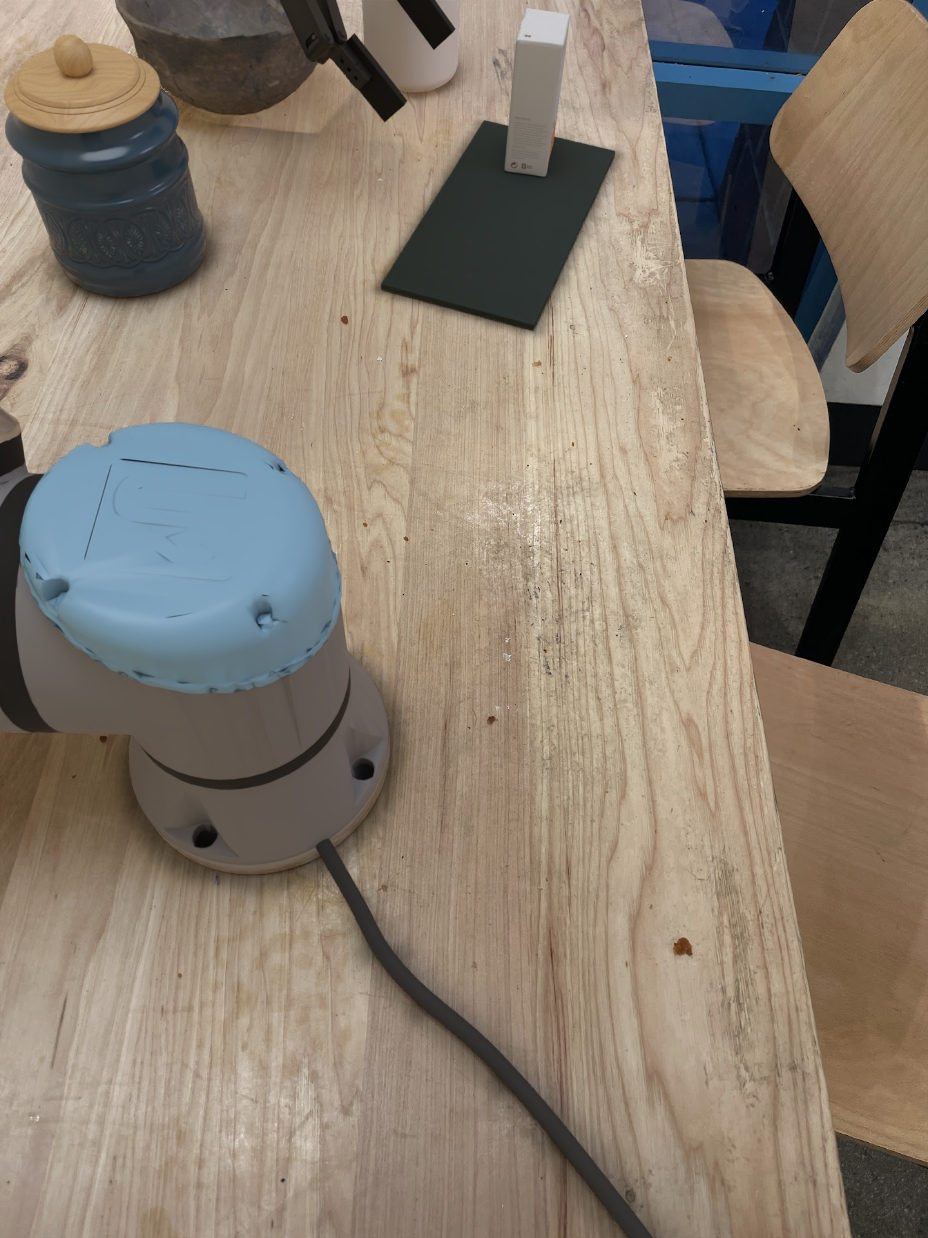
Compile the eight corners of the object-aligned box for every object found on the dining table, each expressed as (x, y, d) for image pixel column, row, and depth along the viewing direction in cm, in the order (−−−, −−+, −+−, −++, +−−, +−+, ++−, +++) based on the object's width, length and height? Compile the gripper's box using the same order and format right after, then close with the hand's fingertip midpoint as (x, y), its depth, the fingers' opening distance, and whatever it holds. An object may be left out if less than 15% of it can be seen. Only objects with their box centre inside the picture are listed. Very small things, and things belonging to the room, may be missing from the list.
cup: (448, 103, 93) (450, -3, 85) (355, 90, 94) (349, -17, 85) (465, 56, 98) (469, -49, 90) (377, 44, 99) (373, -62, 90)
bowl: (184, 29, 99) (162, -78, 90) (362, 56, 97) (357, -50, 89) (108, 129, 88) (74, 18, 80) (307, 161, 87) (294, 52, 78)
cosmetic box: (546, 178, 86) (563, 45, 76) (503, 172, 86) (514, 39, 76) (554, 143, 89) (571, 11, 79) (512, 138, 89) (524, 5, 79)
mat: (533, 330, 75) (534, 324, 75) (380, 289, 77) (380, 283, 77) (614, 156, 89) (615, 150, 89) (483, 125, 91) (484, 119, 91)
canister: (36, 291, 75) (-61, 74, 60) (88, 201, 82) (13, -15, 67) (186, 308, 75) (126, 94, 60) (226, 216, 82) (181, 3, 67)
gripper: (279, -179, 79) (436, 36, 90) (143, -66, 66) (346, 169, 77) (329, -250, 74) (490, -13, 85) (192, -143, 61) (402, 120, 72)
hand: (421, 74), depth 81 cm, fingers open, 13 cm apart
